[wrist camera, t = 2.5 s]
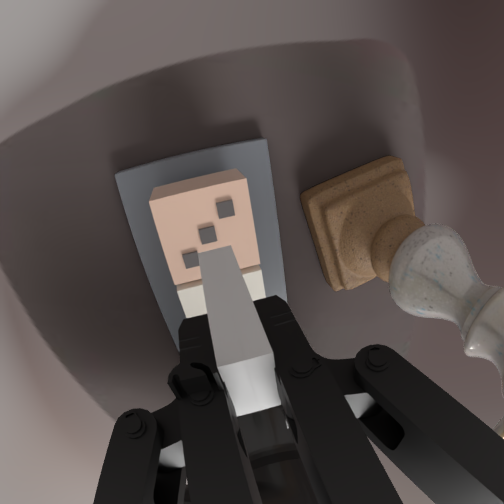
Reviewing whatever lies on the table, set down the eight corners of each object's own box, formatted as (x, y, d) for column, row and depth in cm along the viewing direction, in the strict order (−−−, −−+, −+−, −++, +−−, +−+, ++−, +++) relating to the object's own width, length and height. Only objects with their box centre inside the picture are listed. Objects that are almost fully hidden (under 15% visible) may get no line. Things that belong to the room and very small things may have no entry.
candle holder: (391, 153, 26) (616, 261, 5) (405, 242, 31) (559, 373, 10) (297, 193, 26) (535, 407, 5) (326, 284, 31) (465, 473, 10)
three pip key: (249, 242, 23) (261, 265, 20) (174, 261, 23) (174, 286, 19) (236, 168, 21) (247, 178, 17) (153, 187, 20) (148, 202, 16)
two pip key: (260, 307, 26) (272, 333, 23) (195, 323, 26) (199, 352, 22) (250, 248, 24) (262, 271, 20) (176, 266, 23) (176, 292, 20)
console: (288, 337, 33) (299, 360, 30) (187, 363, 32) (190, 389, 28) (262, 137, 23) (276, 141, 20) (117, 171, 21) (106, 181, 18)
